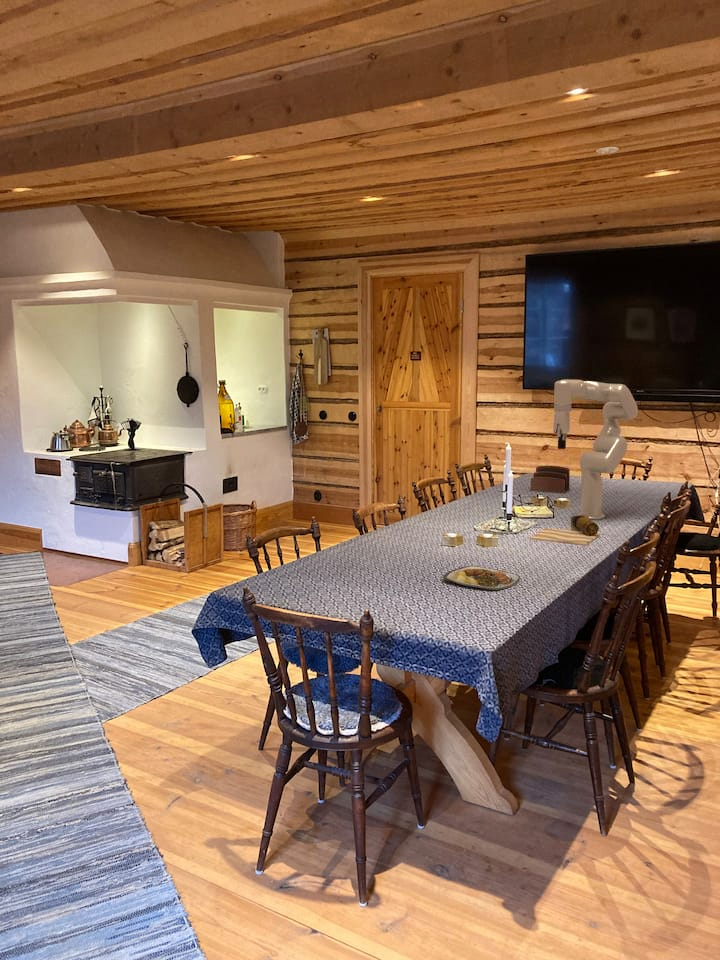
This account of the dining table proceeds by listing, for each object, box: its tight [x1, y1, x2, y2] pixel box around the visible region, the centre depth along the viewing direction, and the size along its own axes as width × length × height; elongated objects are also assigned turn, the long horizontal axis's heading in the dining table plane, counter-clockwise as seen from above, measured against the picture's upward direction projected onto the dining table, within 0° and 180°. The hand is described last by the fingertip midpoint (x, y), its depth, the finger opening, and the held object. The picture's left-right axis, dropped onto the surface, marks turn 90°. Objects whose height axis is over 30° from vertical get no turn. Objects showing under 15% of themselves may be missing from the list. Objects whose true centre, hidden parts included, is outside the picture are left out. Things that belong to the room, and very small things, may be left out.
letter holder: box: [530, 465, 571, 494], centre depth 442 cm, size 10×20×14 cm, turn 58°
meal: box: [442, 565, 521, 591], centre depth 273 cm, size 25×25×3 cm
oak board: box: [529, 527, 601, 547], centre depth 331 cm, size 20×24×1 cm
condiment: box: [570, 515, 600, 535], centre depth 335 cm, size 7×8×12 cm
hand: (561, 448), depth 351 cm, fingers closed
